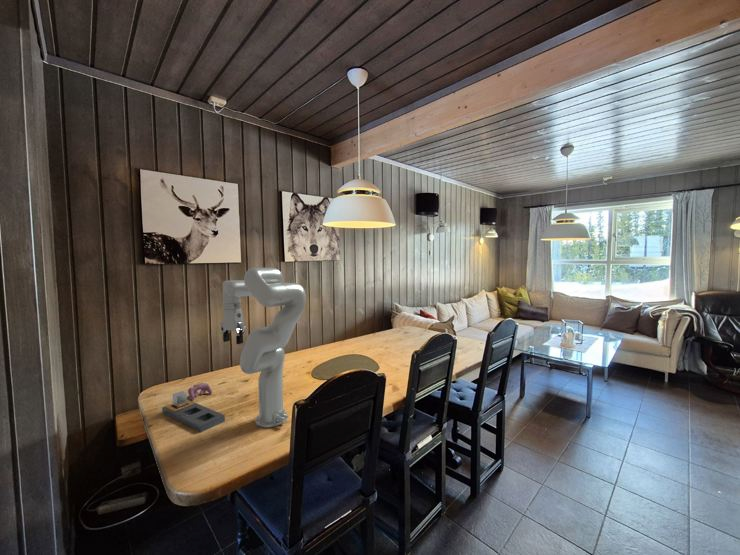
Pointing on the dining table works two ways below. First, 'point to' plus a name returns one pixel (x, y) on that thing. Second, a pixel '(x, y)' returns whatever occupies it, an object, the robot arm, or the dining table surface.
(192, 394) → the video game controller
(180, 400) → the steel block
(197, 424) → the grey flat slotted plate
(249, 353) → the robot arm
